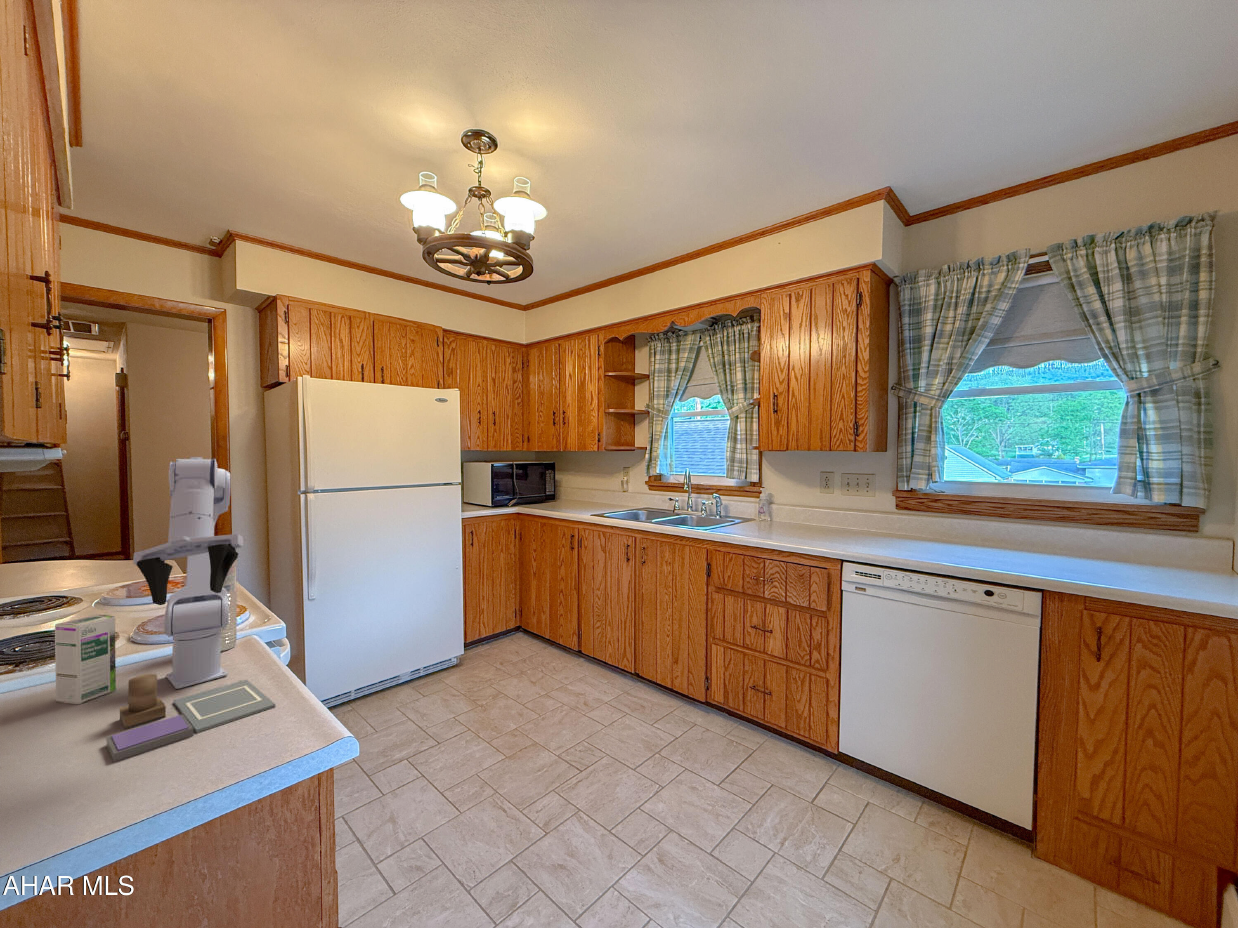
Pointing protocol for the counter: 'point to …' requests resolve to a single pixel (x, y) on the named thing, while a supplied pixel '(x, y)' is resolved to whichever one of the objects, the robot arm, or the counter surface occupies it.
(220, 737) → the counter surface
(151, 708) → the stamp
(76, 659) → the syrup box
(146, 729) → the ink pad
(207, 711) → the board
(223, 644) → the water bottle
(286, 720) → the counter surface
